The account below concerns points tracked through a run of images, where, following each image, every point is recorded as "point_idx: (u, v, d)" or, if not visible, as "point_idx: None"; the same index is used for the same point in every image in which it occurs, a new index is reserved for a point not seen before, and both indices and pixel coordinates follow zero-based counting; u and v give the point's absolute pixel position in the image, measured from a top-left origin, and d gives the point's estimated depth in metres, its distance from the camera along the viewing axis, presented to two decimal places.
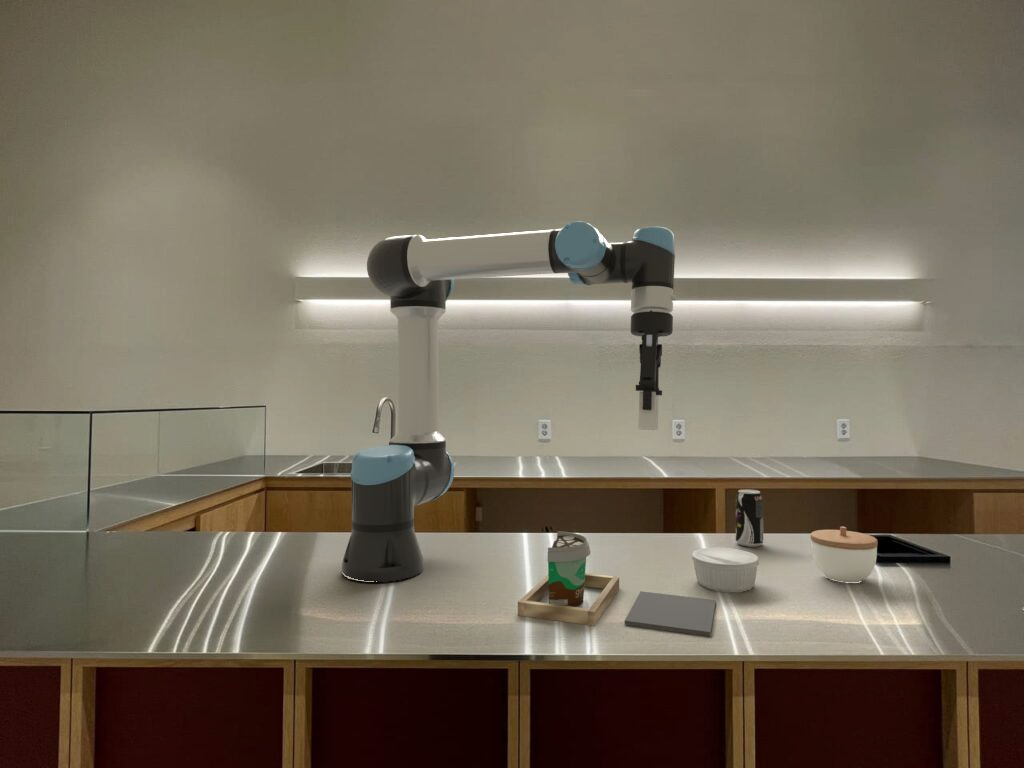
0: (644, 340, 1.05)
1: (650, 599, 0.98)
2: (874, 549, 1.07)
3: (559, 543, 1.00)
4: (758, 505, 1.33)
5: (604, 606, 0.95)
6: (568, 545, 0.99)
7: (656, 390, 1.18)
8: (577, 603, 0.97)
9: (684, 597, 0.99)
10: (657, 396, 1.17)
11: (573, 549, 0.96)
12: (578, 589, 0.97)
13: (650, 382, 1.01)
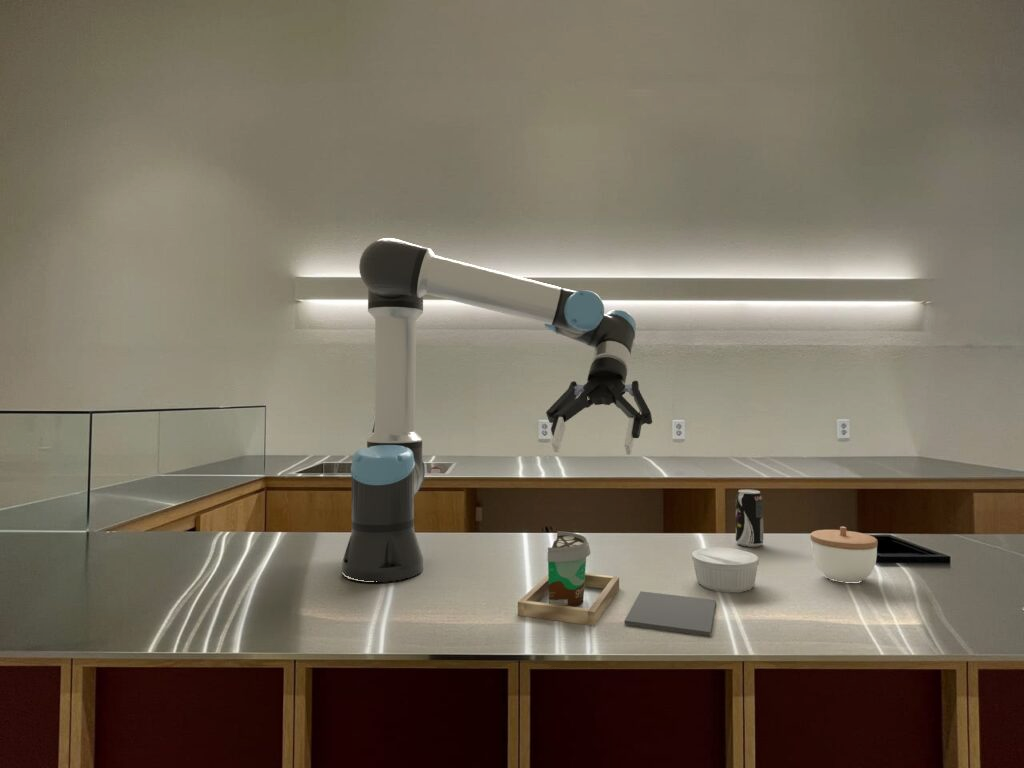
0: (638, 385, 1.18)
1: (650, 599, 0.98)
2: (874, 549, 1.07)
3: (559, 543, 1.00)
4: (758, 505, 1.33)
5: (604, 606, 0.95)
6: (568, 545, 0.99)
7: (564, 421, 1.19)
8: (577, 603, 0.97)
9: (684, 597, 0.99)
10: (565, 426, 1.19)
11: (573, 549, 0.96)
12: (578, 589, 0.97)
13: (651, 419, 1.13)
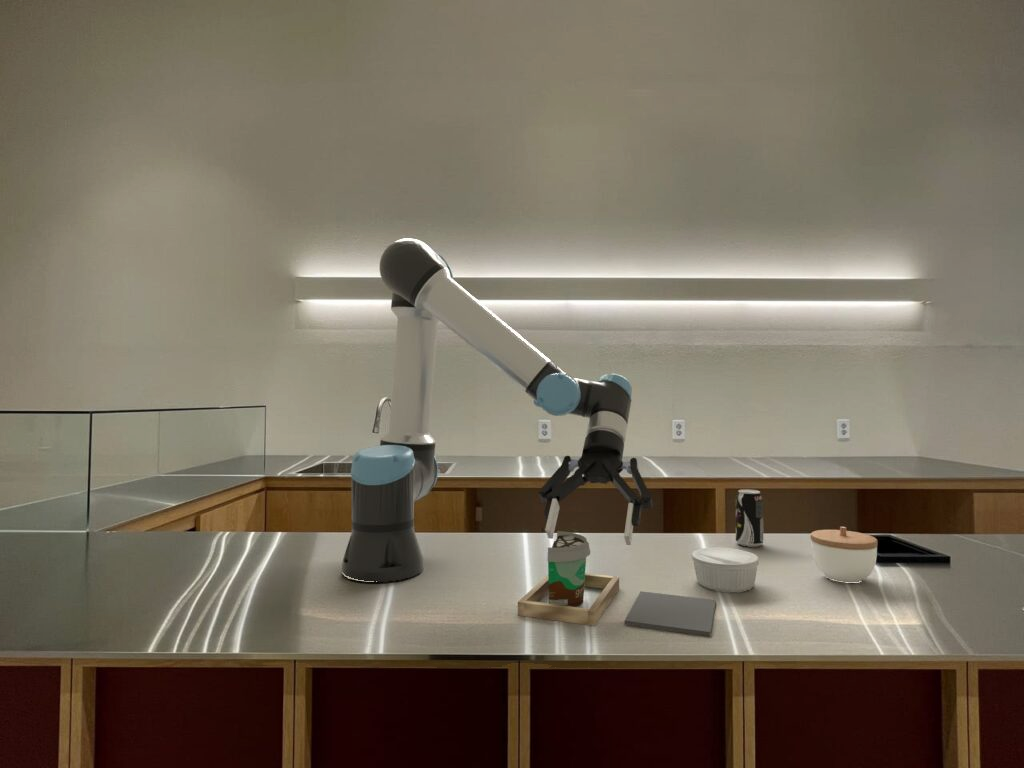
0: None
1: (650, 599, 0.98)
2: (874, 549, 1.07)
3: (559, 543, 1.00)
4: (758, 505, 1.33)
5: (604, 606, 0.95)
6: (568, 545, 0.99)
7: (558, 501, 1.11)
8: (577, 603, 0.97)
9: (684, 597, 0.99)
10: (559, 507, 1.11)
11: (573, 549, 0.96)
12: (578, 589, 0.97)
13: None
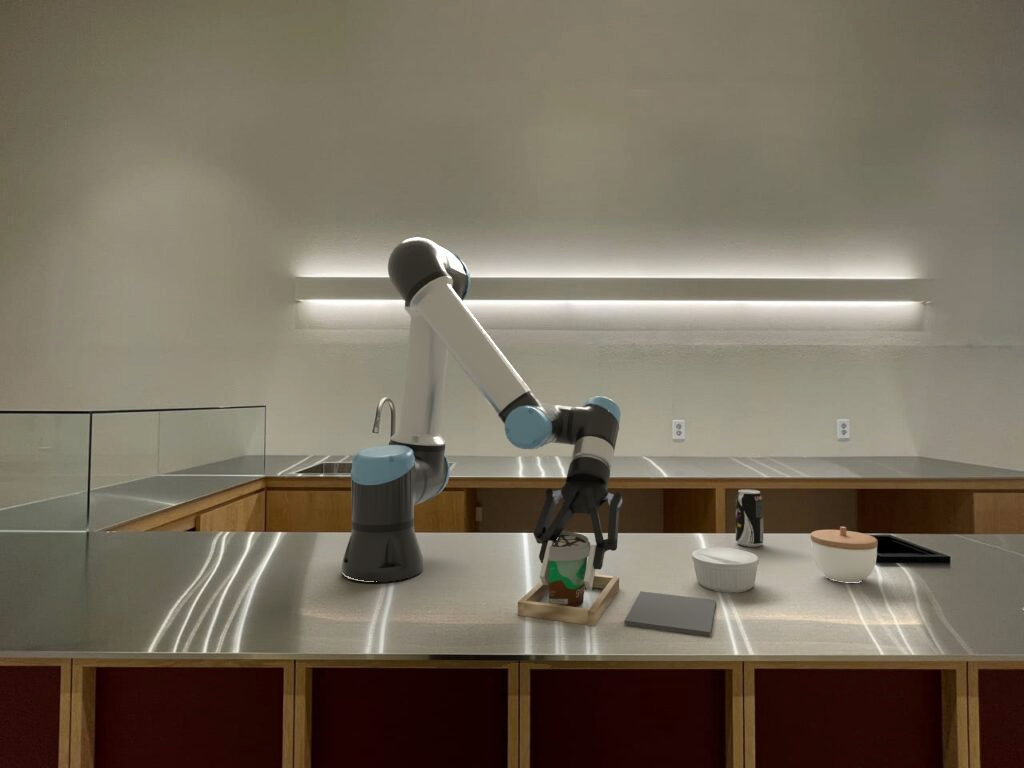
0: (619, 500, 1.04)
1: (650, 599, 0.98)
2: (874, 549, 1.07)
3: (561, 542, 1.00)
4: (758, 505, 1.33)
5: (604, 606, 0.95)
6: (569, 545, 0.99)
7: (554, 541, 1.04)
8: (577, 603, 0.97)
9: (684, 597, 0.99)
10: None
11: (575, 549, 0.96)
12: (578, 588, 0.97)
13: (616, 546, 0.99)
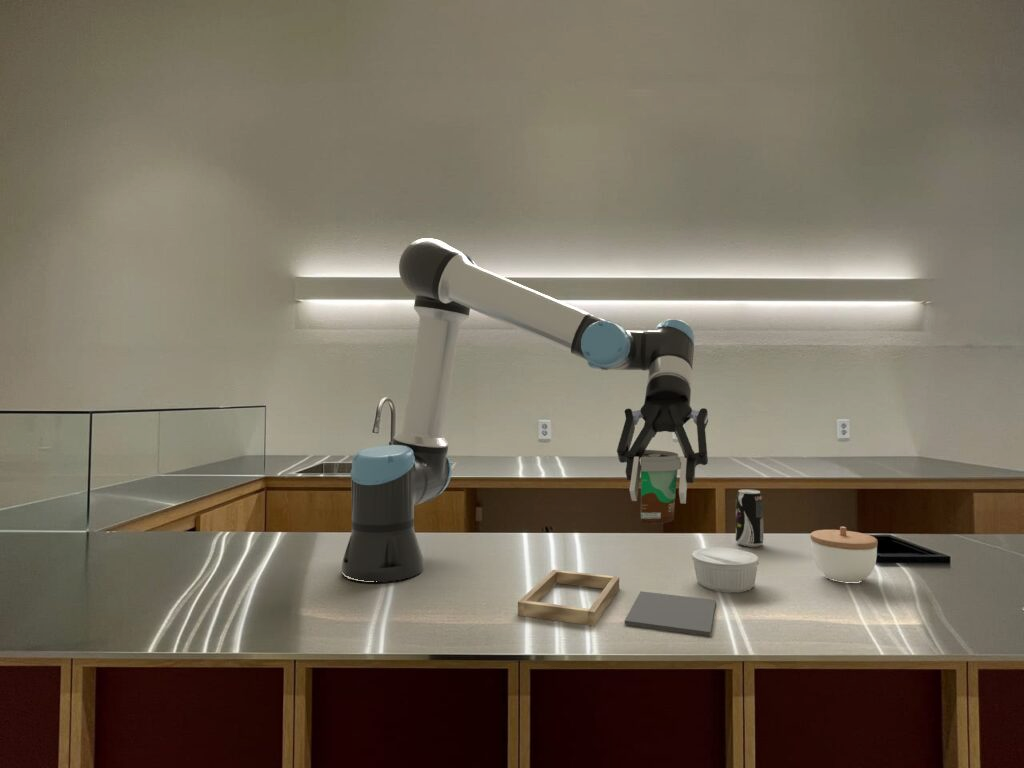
0: (706, 415, 0.99)
1: (650, 599, 0.98)
2: (874, 549, 1.07)
3: None
4: (758, 505, 1.33)
5: (604, 606, 0.95)
6: None
7: (638, 459, 0.99)
8: (669, 518, 0.92)
9: (684, 597, 0.99)
10: (640, 467, 0.98)
11: (667, 459, 0.91)
12: (670, 503, 0.92)
13: (707, 460, 0.95)
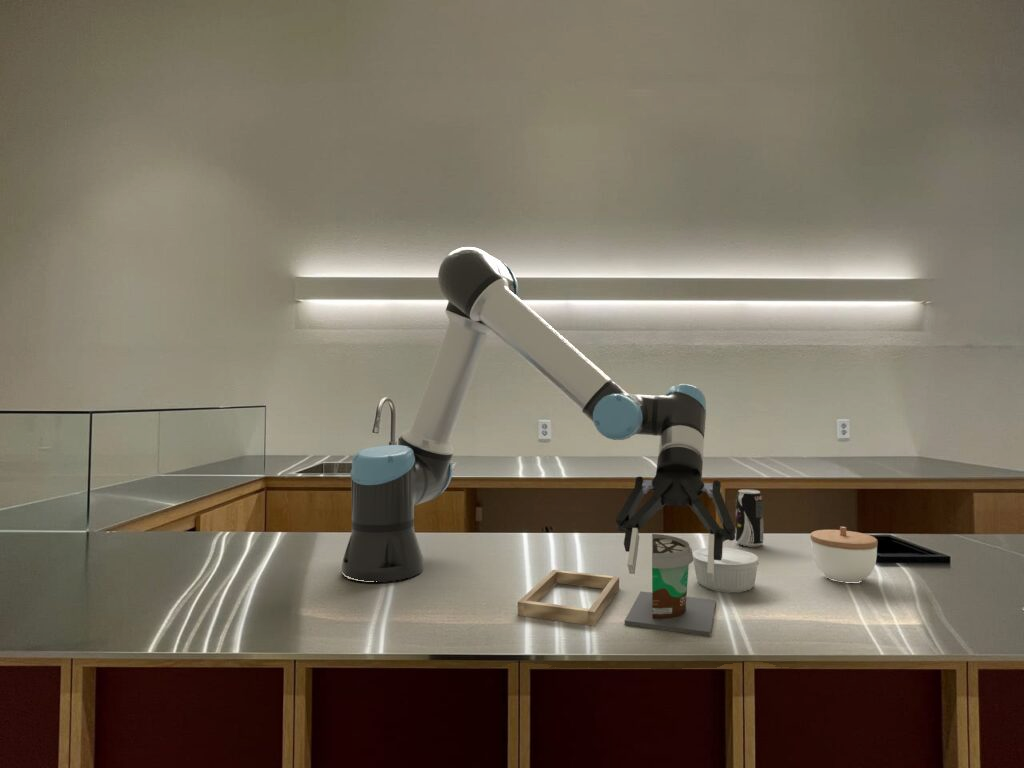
0: (720, 487, 0.99)
1: (650, 599, 0.98)
2: (874, 549, 1.07)
3: (660, 548, 0.94)
4: (758, 505, 1.33)
5: (604, 606, 0.95)
6: (669, 550, 0.94)
7: (637, 530, 0.99)
8: (681, 611, 0.91)
9: None
10: None
11: (678, 555, 0.90)
12: (682, 596, 0.91)
13: None
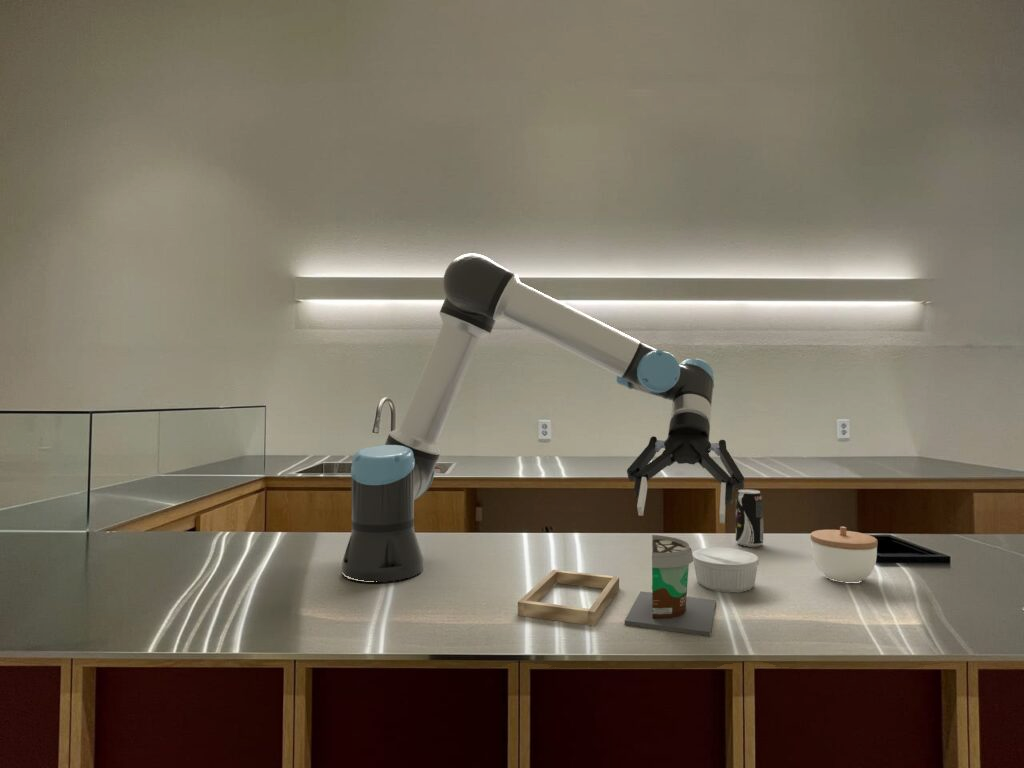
0: None
1: (650, 599, 0.98)
2: (874, 549, 1.07)
3: (660, 548, 0.94)
4: (758, 505, 1.33)
5: (604, 606, 0.95)
6: (669, 550, 0.94)
7: (646, 480, 1.13)
8: (681, 612, 0.92)
9: None
10: (647, 486, 1.12)
11: (678, 554, 0.90)
12: (682, 596, 0.91)
13: None
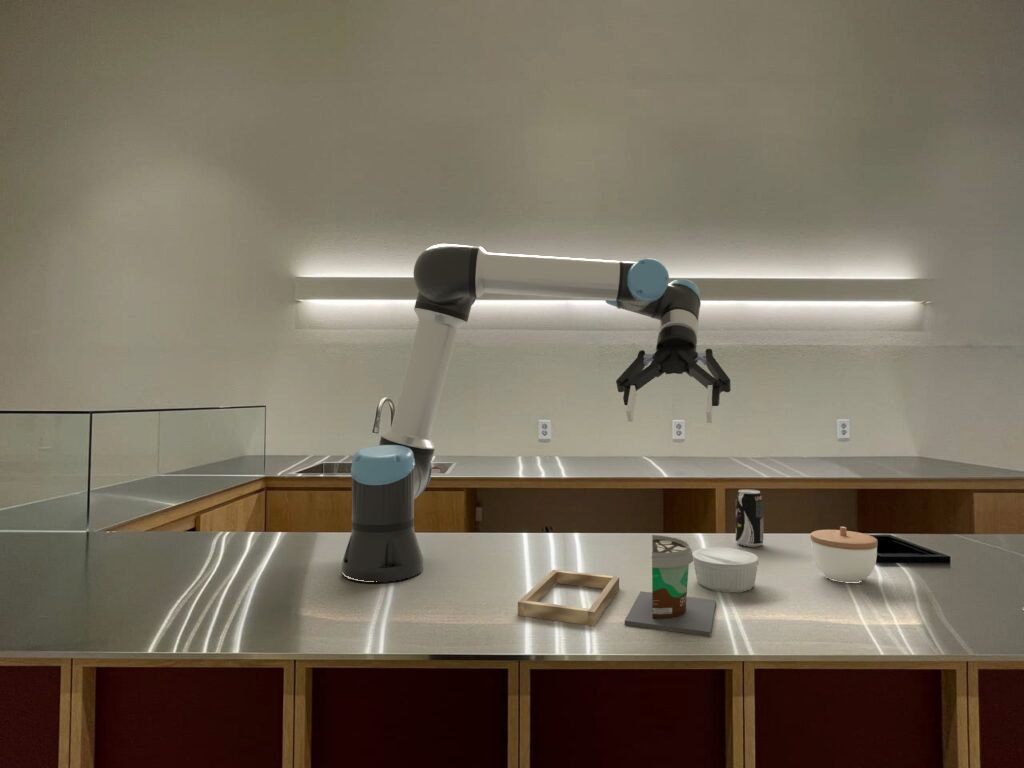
0: None
1: (650, 599, 0.98)
2: (874, 549, 1.07)
3: (660, 548, 0.94)
4: (758, 505, 1.33)
5: (604, 606, 0.95)
6: (669, 550, 0.94)
7: None
8: (681, 612, 0.92)
9: None
10: (636, 395, 1.14)
11: (678, 554, 0.90)
12: (682, 596, 0.91)
13: (730, 387, 1.09)
